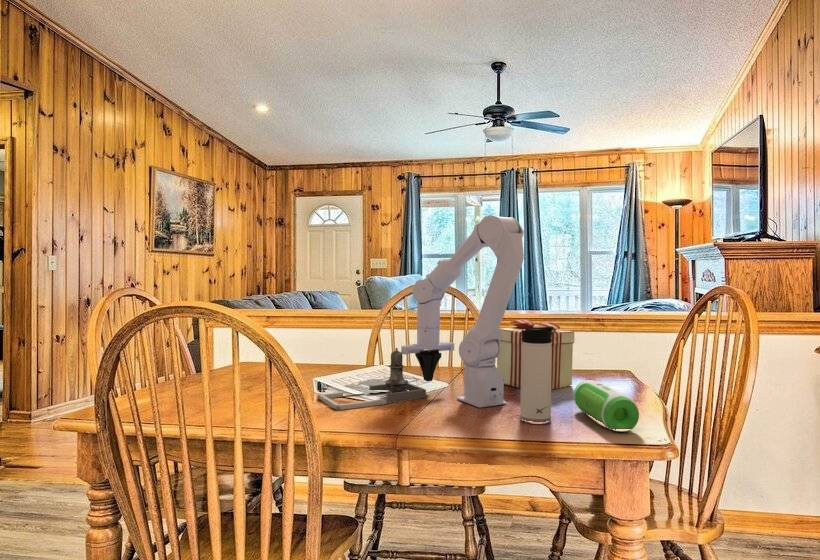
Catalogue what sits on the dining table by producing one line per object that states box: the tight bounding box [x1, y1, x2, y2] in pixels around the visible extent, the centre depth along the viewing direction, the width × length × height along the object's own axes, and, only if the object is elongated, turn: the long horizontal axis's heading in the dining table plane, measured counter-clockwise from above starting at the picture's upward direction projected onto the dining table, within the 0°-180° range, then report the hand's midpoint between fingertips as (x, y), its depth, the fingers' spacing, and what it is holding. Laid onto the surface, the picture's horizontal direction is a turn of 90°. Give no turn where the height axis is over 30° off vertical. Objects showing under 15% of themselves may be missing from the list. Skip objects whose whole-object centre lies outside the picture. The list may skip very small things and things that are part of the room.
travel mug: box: [519, 326, 554, 422], centre depth 120 cm, size 6×7×20 cm
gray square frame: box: [318, 391, 386, 411], centre depth 136 cm, size 12×12×1 cm
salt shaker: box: [384, 347, 409, 393], centre depth 142 cm, size 6×6×12 cm
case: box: [368, 382, 427, 404], centre depth 142 cm, size 10×10×2 cm
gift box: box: [496, 319, 575, 390], centre depth 157 cm, size 17×18×17 cm
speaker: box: [573, 379, 640, 430], centre depth 120 cm, size 18×7×8 cm, turn 6°
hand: (428, 380), depth 146 cm, fingers closed
